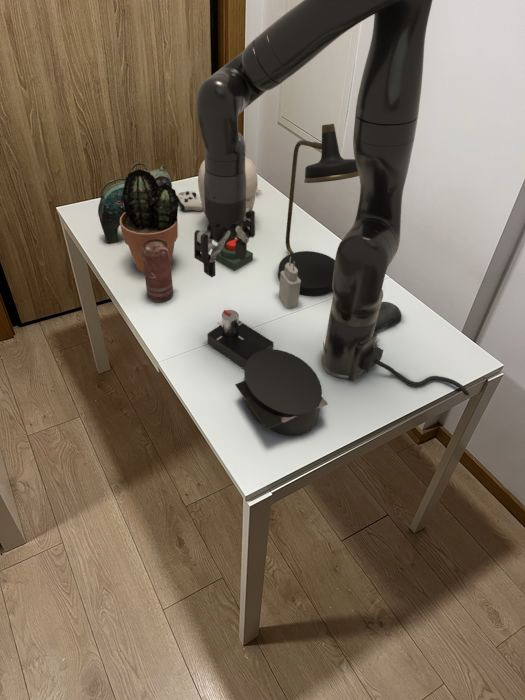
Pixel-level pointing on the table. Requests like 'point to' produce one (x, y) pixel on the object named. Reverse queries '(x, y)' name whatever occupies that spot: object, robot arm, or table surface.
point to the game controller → (189, 201)
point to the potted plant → (148, 214)
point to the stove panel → (238, 343)
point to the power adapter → (289, 286)
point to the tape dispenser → (282, 392)
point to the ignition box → (232, 258)
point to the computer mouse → (387, 316)
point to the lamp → (331, 167)
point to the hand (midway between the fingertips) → (225, 266)
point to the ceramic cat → (121, 203)
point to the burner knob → (230, 323)
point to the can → (157, 270)
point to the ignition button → (231, 245)
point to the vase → (250, 183)
